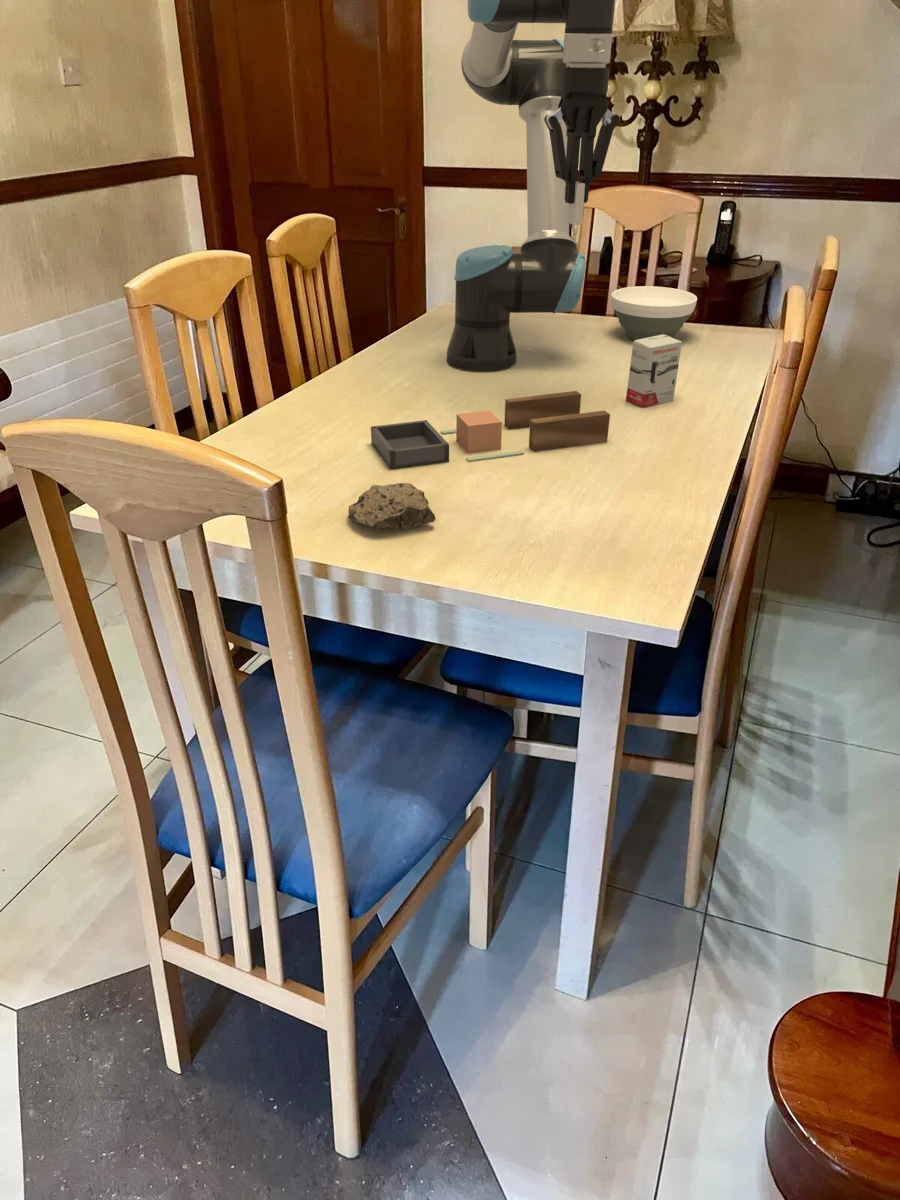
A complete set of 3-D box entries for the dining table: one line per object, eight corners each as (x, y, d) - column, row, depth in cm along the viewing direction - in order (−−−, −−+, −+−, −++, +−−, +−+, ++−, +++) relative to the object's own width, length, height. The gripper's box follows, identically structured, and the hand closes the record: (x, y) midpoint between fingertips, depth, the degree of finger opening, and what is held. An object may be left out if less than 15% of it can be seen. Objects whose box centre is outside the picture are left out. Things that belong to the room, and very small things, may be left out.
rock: (344, 508, 135) (342, 480, 133) (420, 500, 138) (420, 473, 135) (356, 541, 126) (355, 512, 124) (438, 531, 128) (438, 503, 126)
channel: (504, 425, 164) (505, 398, 161) (574, 416, 168) (576, 390, 165) (533, 451, 153) (535, 423, 151) (607, 441, 157) (610, 414, 155)
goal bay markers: (440, 432, 161) (440, 430, 161) (492, 425, 164) (492, 424, 164) (468, 461, 149) (468, 460, 149) (524, 454, 152) (524, 452, 152)
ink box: (642, 408, 172) (650, 346, 166) (624, 401, 176) (631, 340, 169) (674, 400, 176) (683, 339, 170) (656, 393, 180) (664, 333, 173)
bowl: (699, 349, 206) (706, 306, 201) (613, 348, 206) (618, 305, 201) (681, 326, 223) (687, 286, 218) (602, 325, 223) (606, 285, 218)
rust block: (456, 441, 158) (456, 414, 155) (488, 437, 159) (489, 410, 157) (467, 454, 153) (468, 426, 150) (501, 450, 154) (502, 422, 152)
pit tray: (371, 443, 156) (370, 426, 155) (426, 436, 159) (426, 420, 158) (390, 469, 147) (390, 452, 145) (449, 461, 149) (449, 444, 148)
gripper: (559, 66, 140) (549, 229, 152) (633, 66, 144) (618, 225, 156) (539, 65, 146) (531, 222, 158) (611, 65, 150) (598, 218, 162)
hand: (574, 223), depth 157 cm, fingers closed
